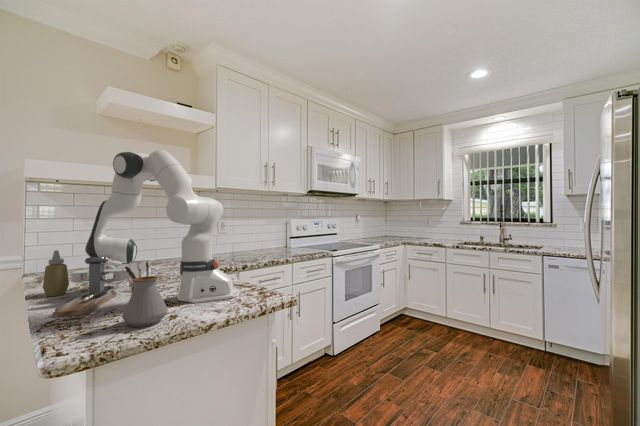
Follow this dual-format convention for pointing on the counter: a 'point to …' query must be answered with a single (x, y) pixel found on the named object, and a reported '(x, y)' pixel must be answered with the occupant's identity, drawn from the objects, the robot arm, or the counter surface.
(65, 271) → the squeeze bottle
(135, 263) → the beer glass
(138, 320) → the coffee pot
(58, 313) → the track
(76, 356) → the counter surface
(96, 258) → the handle
